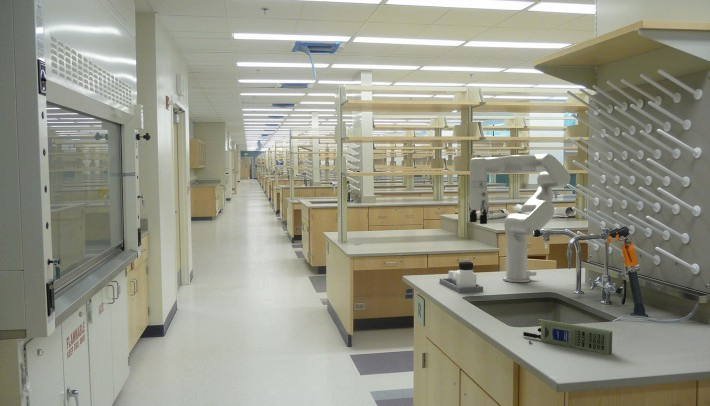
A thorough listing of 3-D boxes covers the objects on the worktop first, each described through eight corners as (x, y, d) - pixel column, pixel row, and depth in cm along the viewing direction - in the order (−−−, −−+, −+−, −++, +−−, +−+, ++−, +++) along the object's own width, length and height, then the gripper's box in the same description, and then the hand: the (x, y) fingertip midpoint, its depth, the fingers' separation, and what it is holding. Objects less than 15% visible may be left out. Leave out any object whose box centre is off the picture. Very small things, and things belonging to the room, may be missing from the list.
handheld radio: (609, 356, 145) (521, 339, 160) (612, 353, 147) (525, 336, 163) (610, 332, 144) (521, 317, 160) (613, 330, 147) (525, 315, 162)
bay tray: (461, 282, 242) (461, 277, 242) (483, 292, 222) (483, 286, 222) (439, 284, 240) (439, 278, 240) (459, 294, 219) (459, 288, 219)
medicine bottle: (476, 290, 223) (476, 262, 222) (459, 291, 222) (459, 263, 222) (471, 287, 230) (472, 260, 229) (455, 287, 230) (455, 260, 229)
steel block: (458, 283, 239) (458, 270, 238) (463, 285, 234) (463, 272, 234) (448, 283, 238) (448, 270, 237) (452, 286, 233) (453, 272, 232)
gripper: (495, 185, 228) (495, 224, 229) (477, 184, 245) (477, 221, 246) (479, 185, 227) (479, 224, 228) (462, 185, 243) (462, 221, 244)
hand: (478, 222), depth 237 cm, fingers open, 9 cm apart
